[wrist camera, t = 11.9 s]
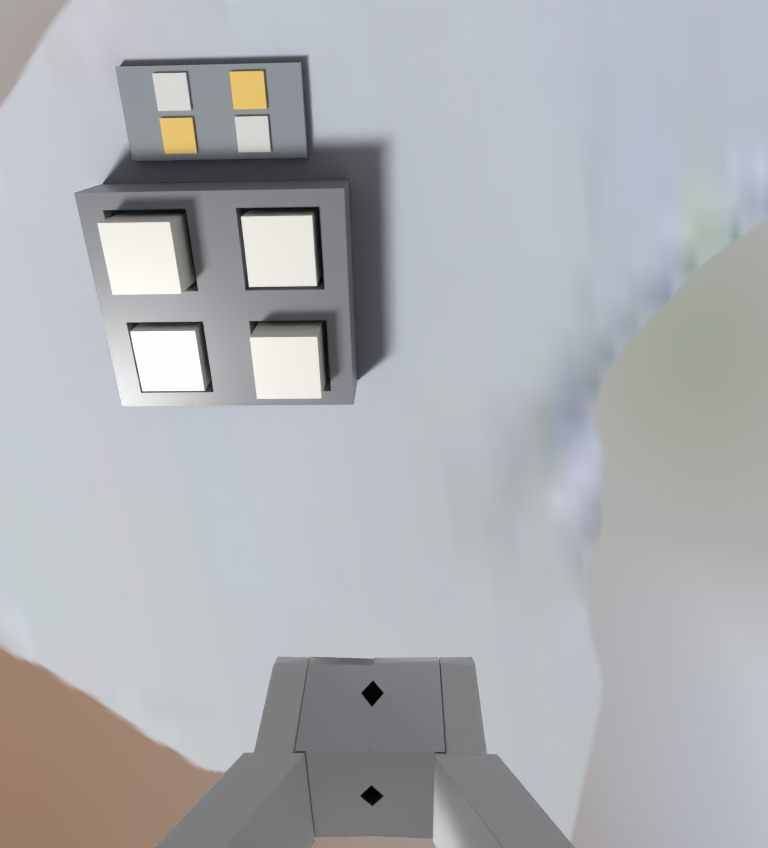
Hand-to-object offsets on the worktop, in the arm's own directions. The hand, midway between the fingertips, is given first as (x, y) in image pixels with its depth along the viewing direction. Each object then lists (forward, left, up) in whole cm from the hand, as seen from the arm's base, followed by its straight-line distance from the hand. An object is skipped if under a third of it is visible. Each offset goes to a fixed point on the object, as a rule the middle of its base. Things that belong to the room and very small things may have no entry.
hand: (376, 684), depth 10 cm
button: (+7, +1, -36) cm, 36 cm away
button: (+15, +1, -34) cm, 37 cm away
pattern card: (+11, -7, -37) cm, 39 cm away
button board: (+11, +4, -37) cm, 39 cm away
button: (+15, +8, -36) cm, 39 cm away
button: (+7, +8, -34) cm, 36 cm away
